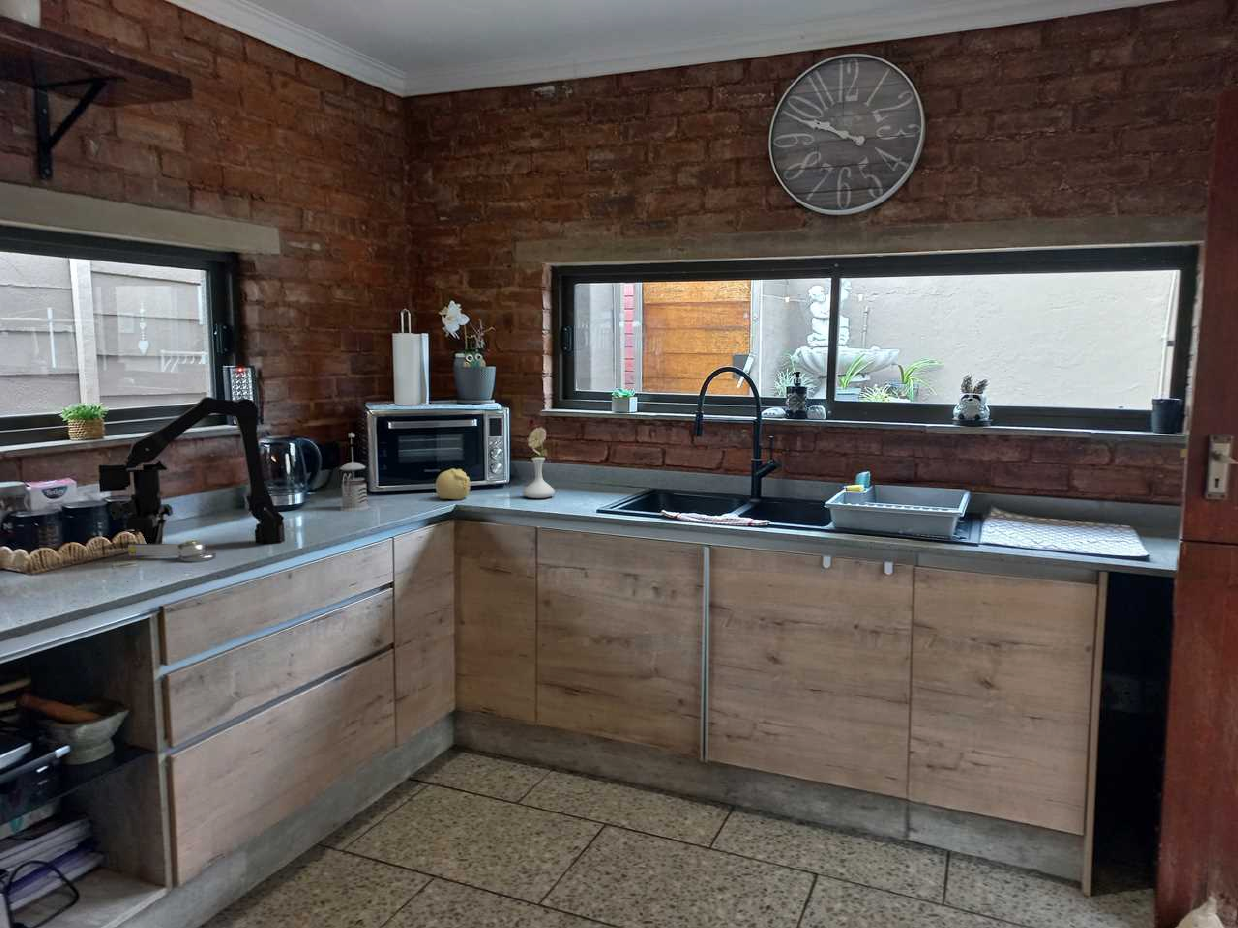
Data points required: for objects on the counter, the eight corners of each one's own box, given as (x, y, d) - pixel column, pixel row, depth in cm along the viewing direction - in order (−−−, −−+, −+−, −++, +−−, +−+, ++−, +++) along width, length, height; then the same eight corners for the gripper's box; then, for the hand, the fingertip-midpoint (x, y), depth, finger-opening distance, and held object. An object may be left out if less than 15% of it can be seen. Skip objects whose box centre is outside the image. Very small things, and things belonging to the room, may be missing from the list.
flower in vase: (518, 496, 308) (516, 426, 305) (548, 493, 313) (547, 424, 309) (530, 501, 296) (529, 429, 293) (561, 499, 301) (560, 427, 298)
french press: (374, 505, 291) (371, 431, 288) (361, 512, 280) (357, 435, 276) (346, 505, 292) (343, 431, 289) (332, 511, 280) (328, 435, 277)
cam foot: (221, 554, 219) (220, 538, 218) (205, 562, 211) (204, 545, 210) (139, 554, 219) (138, 538, 219) (120, 562, 211) (119, 545, 211)
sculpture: (472, 500, 299) (471, 469, 298) (436, 502, 297) (435, 471, 295) (470, 495, 310) (469, 465, 309) (436, 496, 308) (434, 466, 306)
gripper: (124, 484, 223) (128, 543, 225) (98, 496, 205) (103, 560, 207) (171, 482, 225) (175, 541, 228) (149, 494, 207) (154, 557, 210)
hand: (152, 549), depth 218 cm, fingers closed
